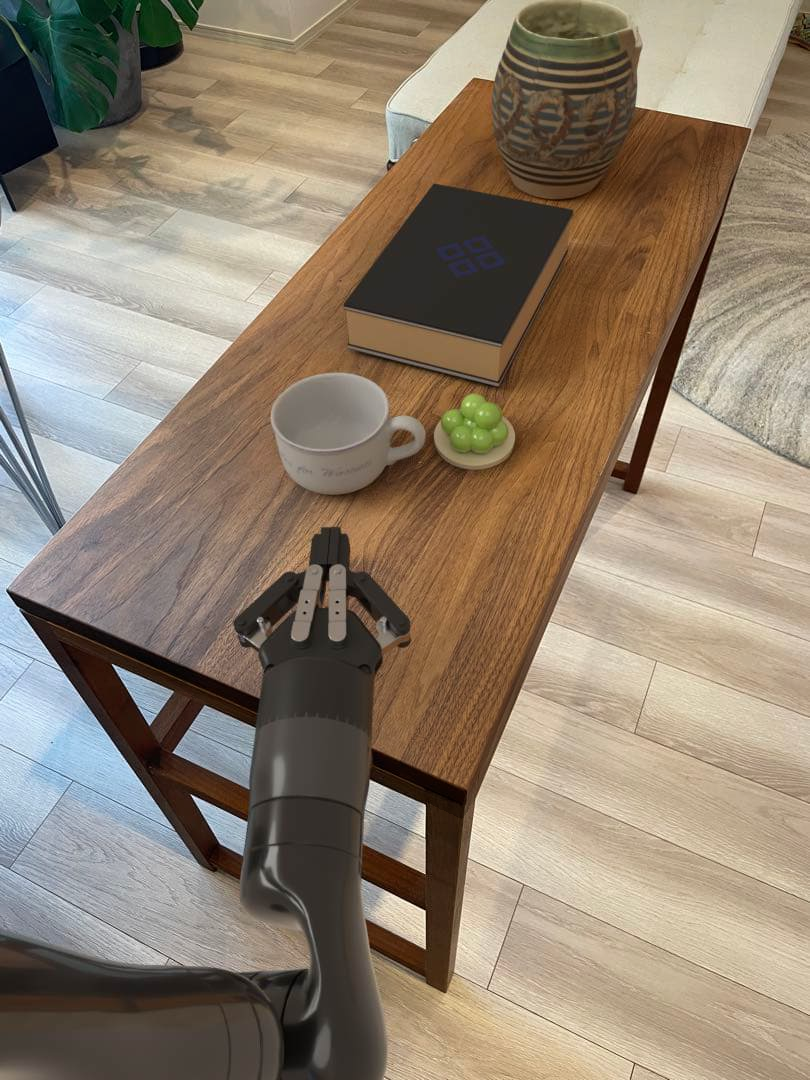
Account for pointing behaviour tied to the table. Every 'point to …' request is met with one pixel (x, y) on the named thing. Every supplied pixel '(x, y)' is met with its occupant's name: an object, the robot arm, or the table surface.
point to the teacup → (338, 432)
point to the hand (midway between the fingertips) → (331, 533)
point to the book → (460, 283)
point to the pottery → (565, 95)
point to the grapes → (474, 434)
